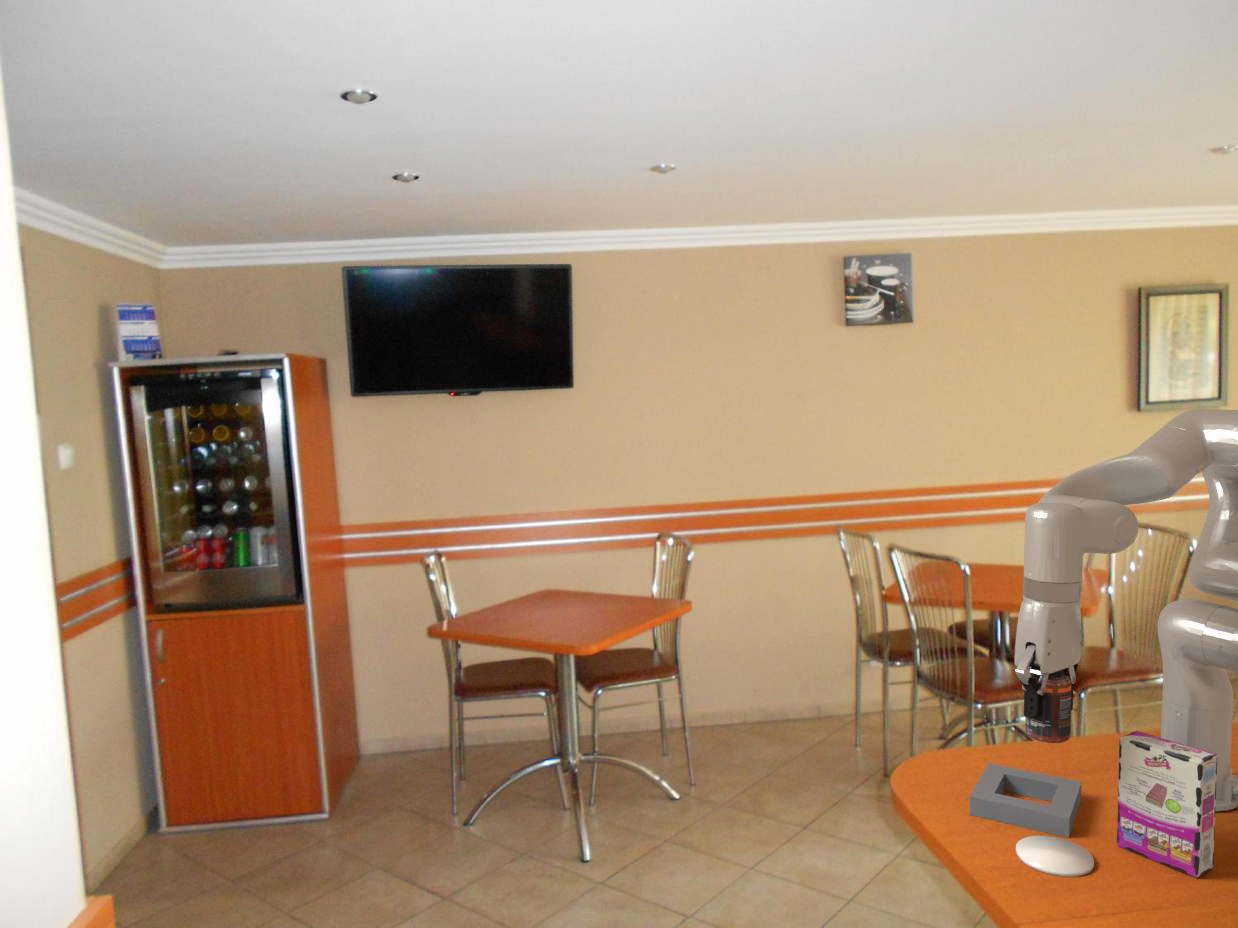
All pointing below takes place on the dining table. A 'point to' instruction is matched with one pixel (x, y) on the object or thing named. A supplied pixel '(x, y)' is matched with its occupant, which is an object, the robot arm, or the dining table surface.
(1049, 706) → the supplement bottle
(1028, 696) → the robot arm
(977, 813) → the socket block
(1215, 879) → the dining table surface
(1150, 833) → the candy bar box
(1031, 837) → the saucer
